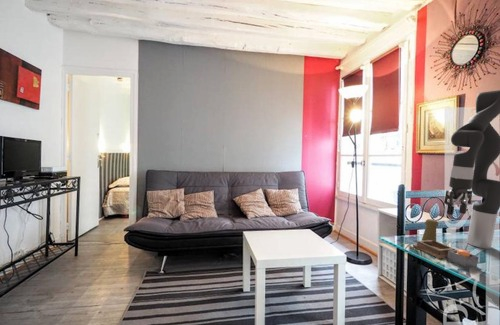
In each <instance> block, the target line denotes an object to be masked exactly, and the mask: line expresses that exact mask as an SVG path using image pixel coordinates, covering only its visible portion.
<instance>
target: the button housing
mask: <svg viewBox="0 0 500 325" xmlns="http://www.w3.org/2000/svg"><path fill="white" fill-rule="evenodd" d="M446 260H447V261H448V262H450V263H453V264H456V265H457V266H459V267H461V268H465V269H469V268H476V267H478V262H479V256H476V255H474V254H472V253H470V256H469V257H464V256H462V255H460V254H457V249H455V250H450V251H448V256H447V258H446Z"/></svg>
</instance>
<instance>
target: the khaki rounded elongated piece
mask: <svg viewBox="0 0 500 325" xmlns="http://www.w3.org/2000/svg"><path fill="white" fill-rule="evenodd" d="M424 222H425V225H426V226H425V229H424V232H423V234H422V238H421V241H426V240H434V241H436V242H437V228H438V227H439V221H437V220H436V219H432V218H431V219H430V218H428V219H426V220H425V221H424Z"/></svg>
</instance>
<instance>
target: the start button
mask: <svg viewBox="0 0 500 325" xmlns="http://www.w3.org/2000/svg"><path fill="white" fill-rule="evenodd" d="M456 250H457V254H460V255H462V256H464V257H469V256H470V254H471V252H470V251H469V250H465V249H461V248H458V249H456Z"/></svg>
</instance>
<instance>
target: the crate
mask: <svg viewBox="0 0 500 325" xmlns="http://www.w3.org/2000/svg"><path fill="white" fill-rule="evenodd" d="M412 248H415V249H417V250H420V251H421V252H424V253H426V254H428V255H430V256H432V257H434V256H435V258H437V259H439V258H440V259H447V256H448V251H450V250H456V248H454V247H451V246H450V245H447V244H444V243H441V242H438V241H437V240H436V241H434V240H426V241H422V240H417V241H416V243H415V244H413V245H412Z"/></svg>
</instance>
